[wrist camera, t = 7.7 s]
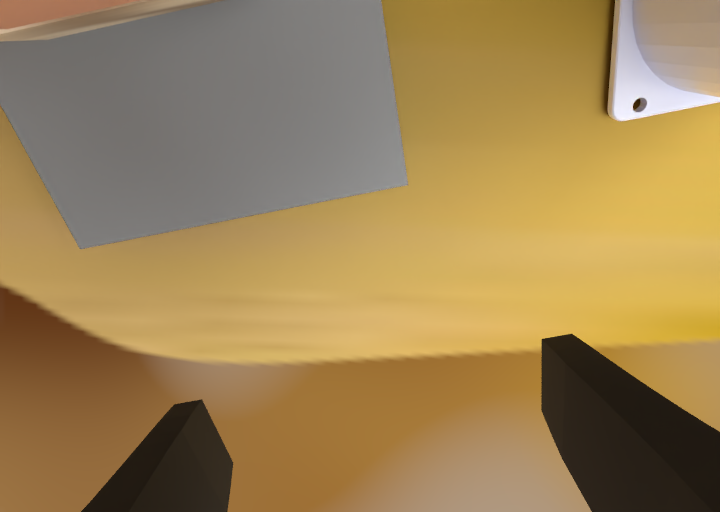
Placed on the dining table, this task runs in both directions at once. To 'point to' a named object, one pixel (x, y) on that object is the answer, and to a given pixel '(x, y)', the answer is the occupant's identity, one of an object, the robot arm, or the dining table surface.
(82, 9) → the terracotta brick
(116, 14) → the birch block
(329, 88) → the baseplate
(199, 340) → the dining table surface
